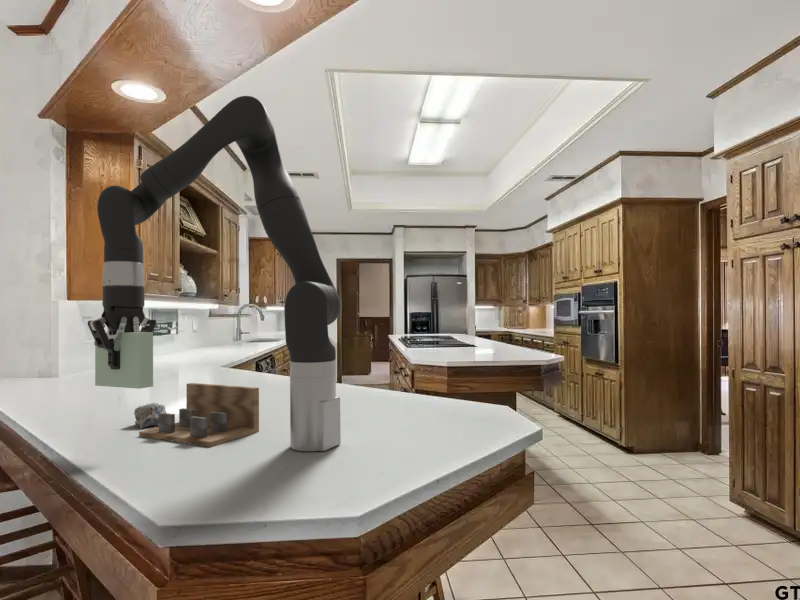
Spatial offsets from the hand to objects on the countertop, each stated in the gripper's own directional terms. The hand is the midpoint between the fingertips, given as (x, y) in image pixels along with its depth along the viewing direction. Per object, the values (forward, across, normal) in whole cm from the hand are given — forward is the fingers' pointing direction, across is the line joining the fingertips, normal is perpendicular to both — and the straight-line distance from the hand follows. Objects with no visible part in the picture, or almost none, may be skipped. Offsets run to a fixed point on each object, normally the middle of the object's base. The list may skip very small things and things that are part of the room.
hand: (123, 367), depth 96 cm
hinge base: (+16, +14, -6) cm, 22 cm away
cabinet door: (+4, 0, 0) cm, 4 cm away
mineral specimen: (+17, +17, +14) cm, 27 cm away
